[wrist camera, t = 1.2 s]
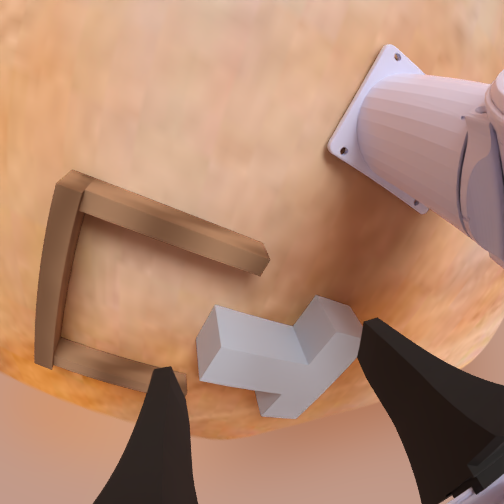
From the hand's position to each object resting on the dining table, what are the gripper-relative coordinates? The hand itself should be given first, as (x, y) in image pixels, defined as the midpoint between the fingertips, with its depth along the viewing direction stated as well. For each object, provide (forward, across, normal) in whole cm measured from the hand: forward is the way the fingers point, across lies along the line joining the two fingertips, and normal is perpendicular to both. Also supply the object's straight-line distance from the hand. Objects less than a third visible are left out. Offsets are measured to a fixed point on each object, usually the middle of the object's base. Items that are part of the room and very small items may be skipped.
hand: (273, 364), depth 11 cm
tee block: (+10, -2, +9) cm, 13 cm away
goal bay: (+10, +8, +3) cm, 13 cm away
